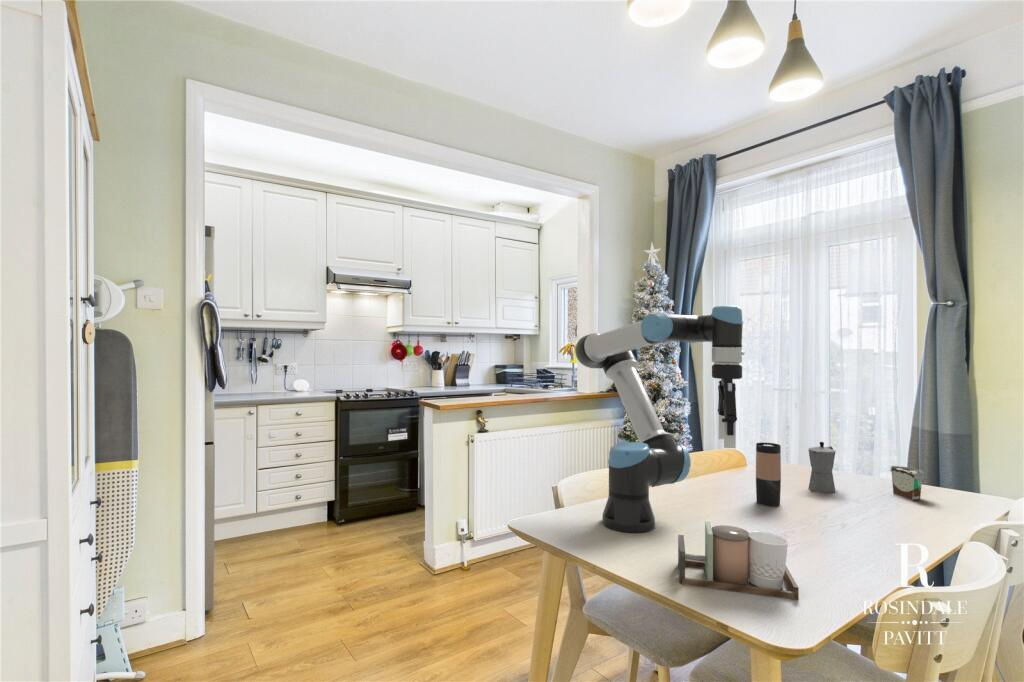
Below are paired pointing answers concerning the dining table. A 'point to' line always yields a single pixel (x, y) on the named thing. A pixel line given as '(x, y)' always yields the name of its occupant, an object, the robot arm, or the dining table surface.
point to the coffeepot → (822, 469)
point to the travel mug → (768, 474)
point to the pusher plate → (706, 552)
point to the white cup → (766, 559)
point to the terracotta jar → (730, 555)
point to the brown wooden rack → (727, 586)
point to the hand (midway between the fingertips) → (726, 443)
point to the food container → (907, 482)
